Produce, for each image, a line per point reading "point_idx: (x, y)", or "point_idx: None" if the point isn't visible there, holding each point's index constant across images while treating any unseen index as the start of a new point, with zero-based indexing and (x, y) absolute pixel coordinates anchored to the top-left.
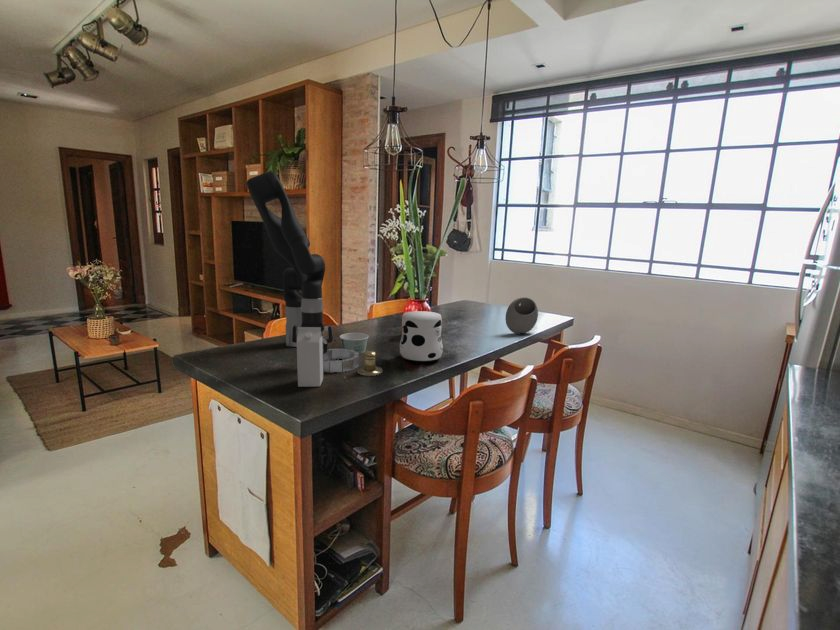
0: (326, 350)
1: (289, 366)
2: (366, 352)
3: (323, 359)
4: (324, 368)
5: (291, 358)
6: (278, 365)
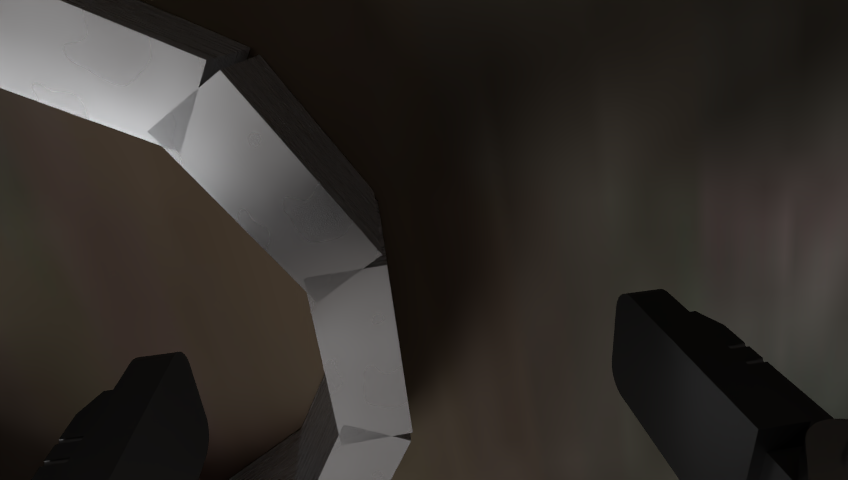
0: (93, 418)
1: (685, 227)
2: None
3: (126, 128)
4: (126, 2)
5: (672, 472)
6: (807, 253)
